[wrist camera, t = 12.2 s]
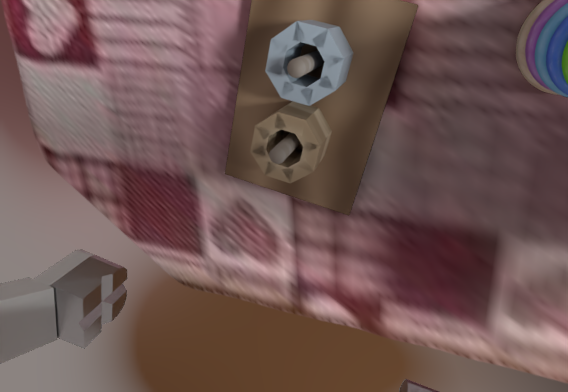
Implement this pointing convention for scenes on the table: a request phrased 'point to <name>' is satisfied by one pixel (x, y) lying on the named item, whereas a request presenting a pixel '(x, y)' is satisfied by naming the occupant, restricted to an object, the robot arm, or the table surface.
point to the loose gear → (290, 47)
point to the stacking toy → (545, 47)
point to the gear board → (324, 113)
